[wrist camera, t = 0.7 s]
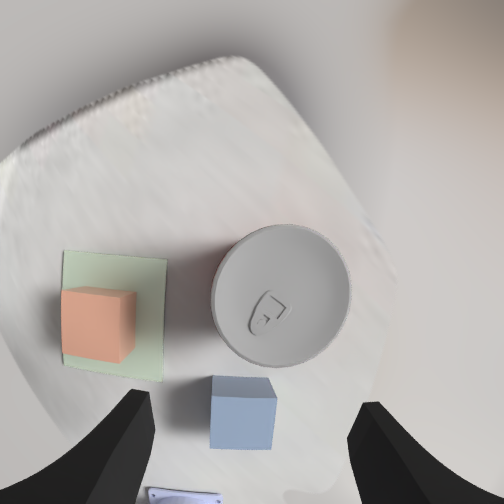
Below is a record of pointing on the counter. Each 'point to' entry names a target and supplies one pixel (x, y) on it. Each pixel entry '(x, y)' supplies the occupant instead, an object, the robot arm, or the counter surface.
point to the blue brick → (242, 413)
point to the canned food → (281, 295)
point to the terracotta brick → (98, 323)
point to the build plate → (147, 308)
